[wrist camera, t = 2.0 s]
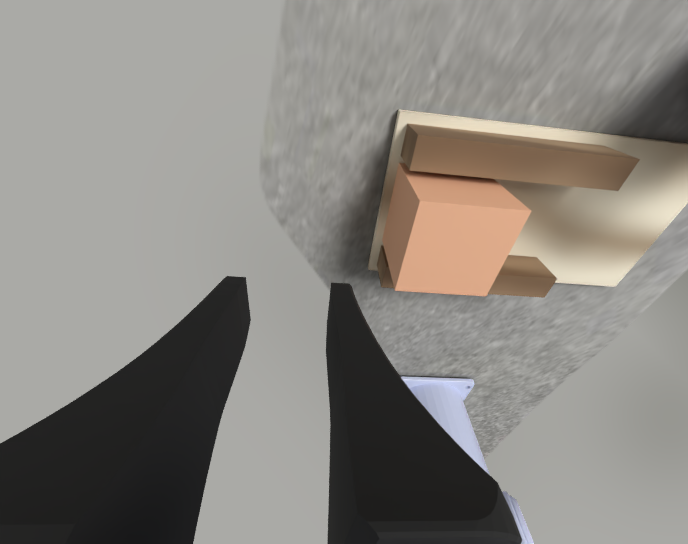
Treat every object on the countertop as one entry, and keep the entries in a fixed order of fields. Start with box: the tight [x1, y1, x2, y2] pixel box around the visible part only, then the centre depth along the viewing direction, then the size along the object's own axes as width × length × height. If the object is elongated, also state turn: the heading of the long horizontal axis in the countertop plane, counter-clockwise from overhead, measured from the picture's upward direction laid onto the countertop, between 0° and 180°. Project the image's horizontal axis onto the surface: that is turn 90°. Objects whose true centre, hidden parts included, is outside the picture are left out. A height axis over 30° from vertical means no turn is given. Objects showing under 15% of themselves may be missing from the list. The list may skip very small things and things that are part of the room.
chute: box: [377, 123, 640, 297], centre depth 18 cm, size 9×11×2 cm
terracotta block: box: [382, 163, 531, 296], centre depth 16 cm, size 5×5×5 cm
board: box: [368, 110, 688, 287], centre depth 19 cm, size 10×19×1 cm, turn 84°
